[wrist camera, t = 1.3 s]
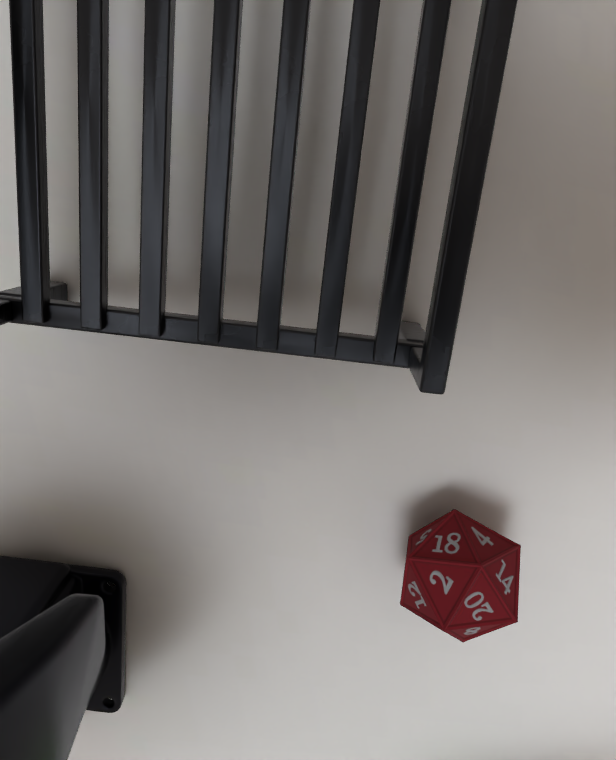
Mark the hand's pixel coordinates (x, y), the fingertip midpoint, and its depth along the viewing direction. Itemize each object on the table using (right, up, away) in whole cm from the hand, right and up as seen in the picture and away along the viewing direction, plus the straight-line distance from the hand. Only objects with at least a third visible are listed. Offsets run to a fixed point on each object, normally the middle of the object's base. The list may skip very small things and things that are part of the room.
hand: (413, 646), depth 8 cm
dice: (+4, -2, +13) cm, 14 cm away
